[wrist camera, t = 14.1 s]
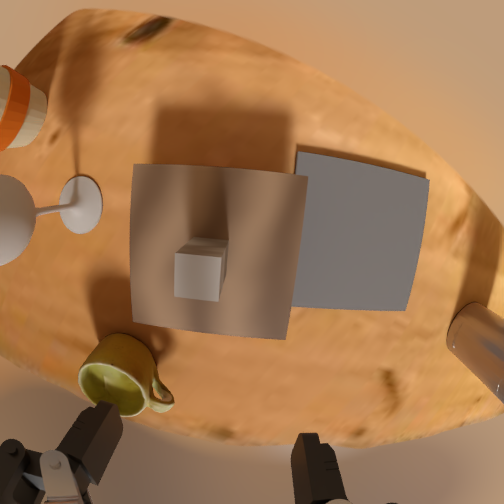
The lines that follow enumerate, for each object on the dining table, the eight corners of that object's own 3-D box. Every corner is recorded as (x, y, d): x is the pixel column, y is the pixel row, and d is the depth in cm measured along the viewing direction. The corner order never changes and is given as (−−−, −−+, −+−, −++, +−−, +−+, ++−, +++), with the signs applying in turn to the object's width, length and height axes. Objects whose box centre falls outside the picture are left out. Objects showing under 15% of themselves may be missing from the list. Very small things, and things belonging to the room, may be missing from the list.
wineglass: (114, 208, 29) (-34, 244, 8) (78, 246, 30) (-50, 306, 9) (84, 162, 28) (-58, 155, 7) (51, 202, 29) (-77, 227, 8)
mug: (82, 368, 32) (66, 403, 23) (106, 313, 33) (91, 338, 24) (152, 403, 36) (156, 443, 27) (181, 353, 37) (190, 387, 28)
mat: (426, 179, 28) (429, 179, 27) (402, 308, 32) (405, 310, 31) (296, 152, 28) (298, 151, 27) (278, 302, 32) (279, 305, 31)
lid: (306, 176, 23) (327, 171, 16) (284, 335, 26) (293, 378, 19) (137, 164, 22) (99, 157, 16) (135, 318, 26) (107, 353, 19)
